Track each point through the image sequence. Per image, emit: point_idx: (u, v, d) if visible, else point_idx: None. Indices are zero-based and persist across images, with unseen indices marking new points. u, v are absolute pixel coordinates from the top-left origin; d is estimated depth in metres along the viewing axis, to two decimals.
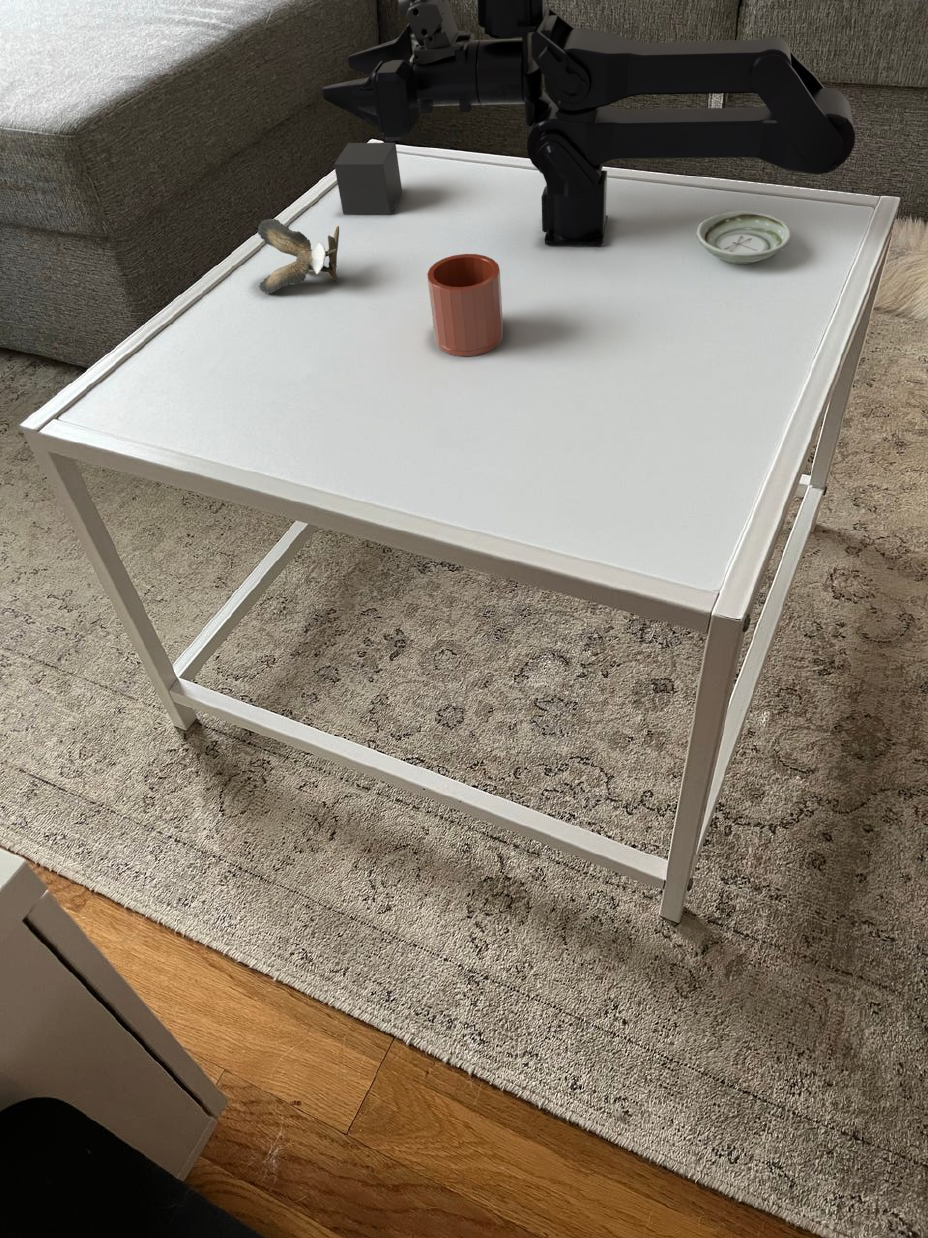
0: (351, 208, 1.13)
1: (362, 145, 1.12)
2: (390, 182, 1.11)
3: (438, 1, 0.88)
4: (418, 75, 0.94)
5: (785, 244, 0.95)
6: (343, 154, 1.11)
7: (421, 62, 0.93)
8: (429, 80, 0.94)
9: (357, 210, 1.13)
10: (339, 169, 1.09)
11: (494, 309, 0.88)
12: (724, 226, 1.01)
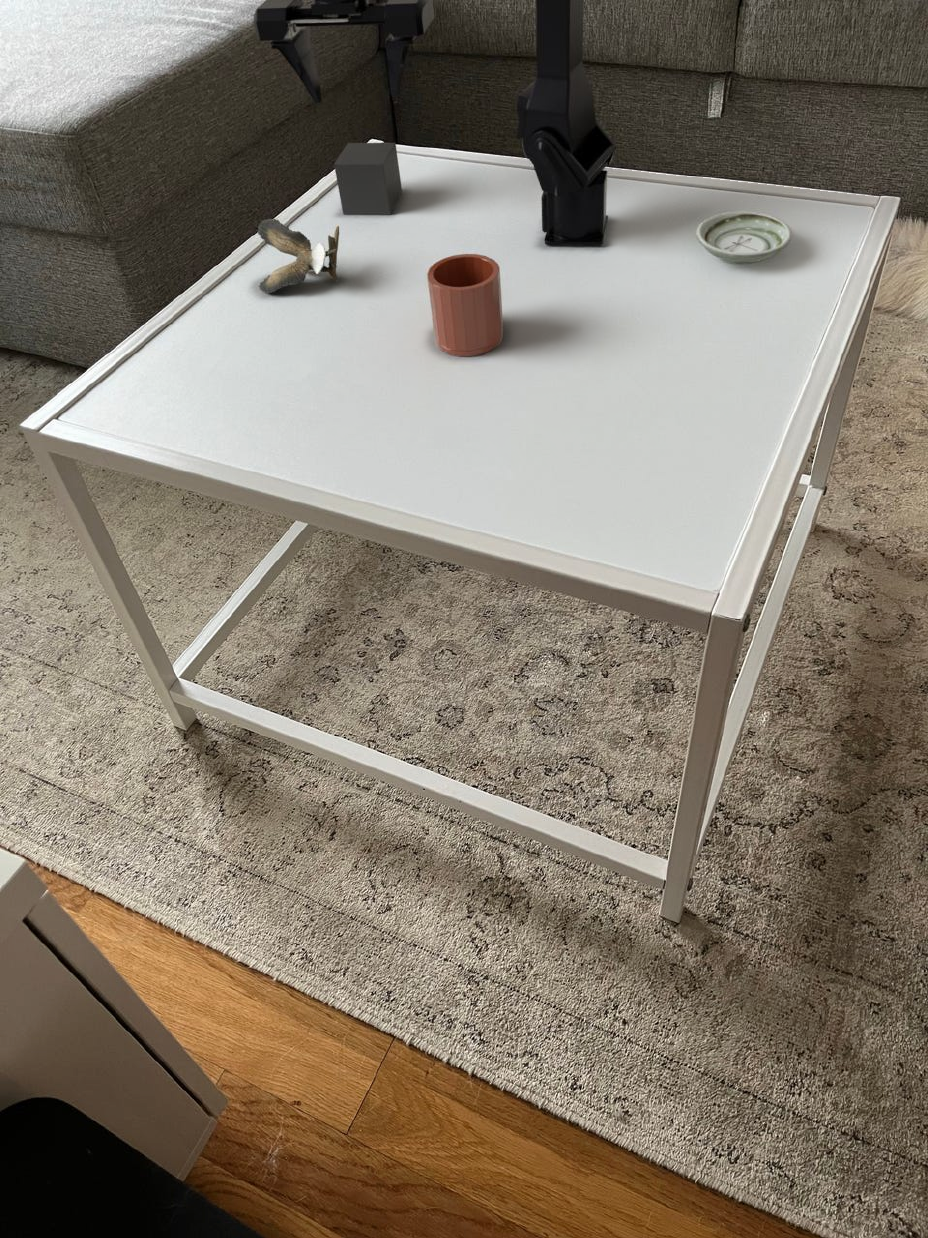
0: (351, 208, 1.13)
1: (362, 145, 1.12)
2: (390, 182, 1.11)
3: None
4: None
5: (785, 244, 0.95)
6: (343, 154, 1.11)
7: None
8: None
9: (357, 210, 1.13)
10: (339, 169, 1.09)
11: (494, 309, 0.88)
12: (724, 226, 1.01)
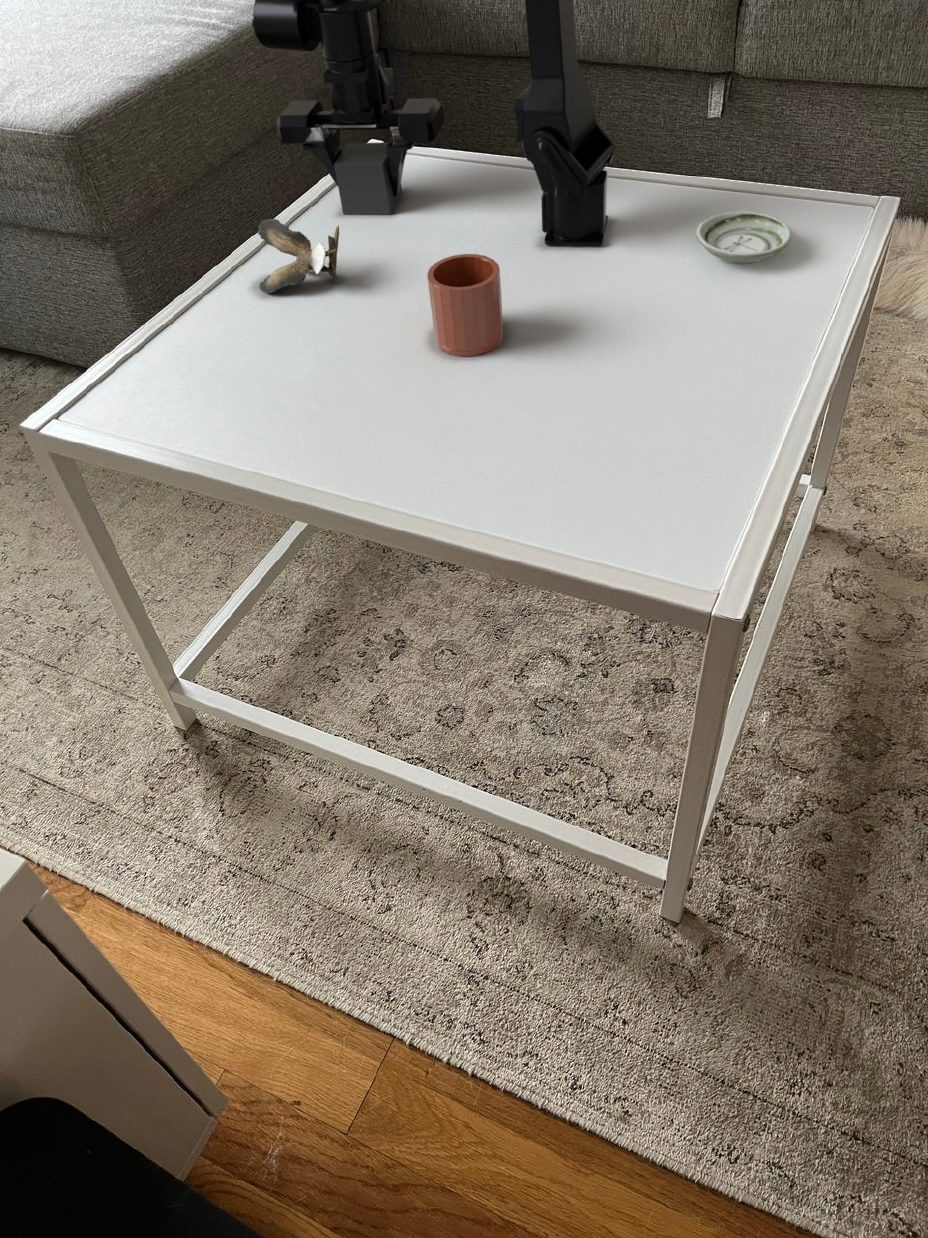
0: (351, 208, 1.13)
1: (362, 145, 1.12)
2: (390, 182, 1.11)
3: None
4: None
5: (785, 244, 0.95)
6: (343, 154, 1.11)
7: None
8: None
9: (357, 210, 1.13)
10: (338, 169, 1.09)
11: (494, 309, 0.88)
12: (724, 226, 1.01)
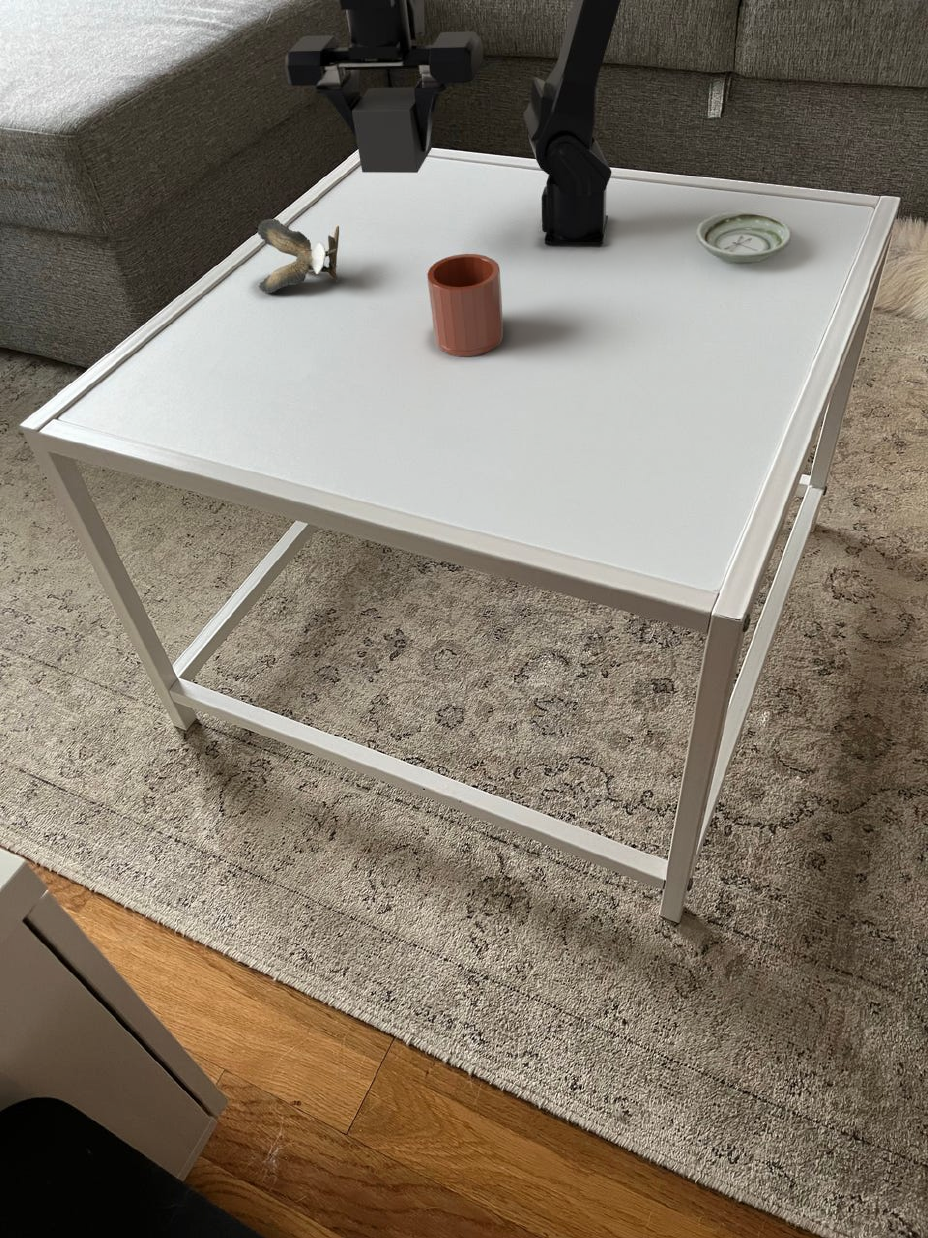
0: (371, 165, 0.96)
1: (386, 90, 0.95)
2: (418, 134, 0.94)
3: None
4: None
5: (785, 244, 0.95)
6: (363, 100, 0.93)
7: None
8: None
9: (378, 167, 0.96)
10: (357, 117, 0.92)
11: (494, 309, 0.88)
12: (724, 226, 1.01)
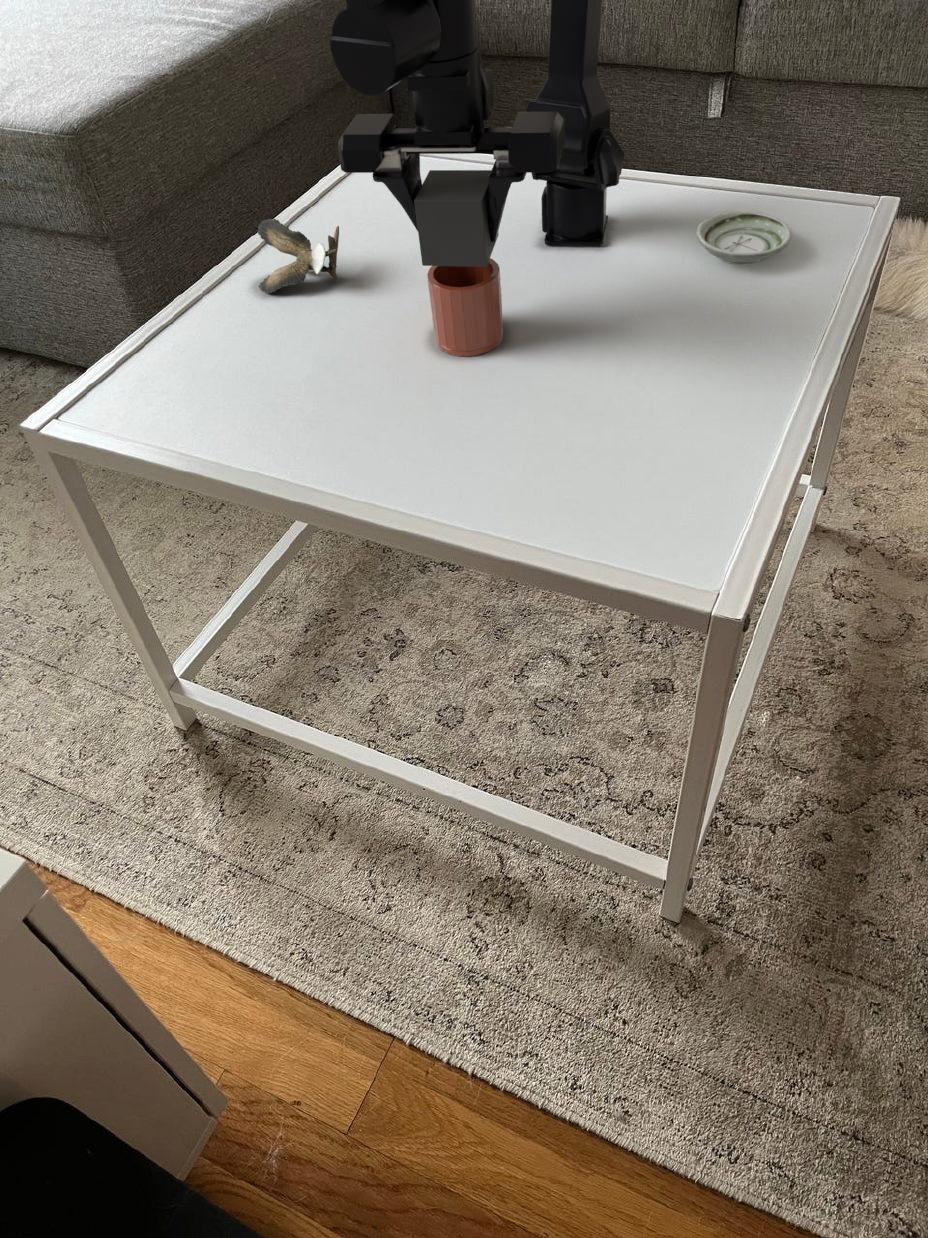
0: (434, 258, 0.84)
1: (450, 173, 0.83)
2: (488, 224, 0.82)
3: None
4: None
5: (785, 244, 0.95)
6: (425, 186, 0.82)
7: None
8: None
9: (442, 261, 0.84)
10: (420, 207, 0.81)
11: (494, 309, 0.88)
12: (724, 226, 1.01)
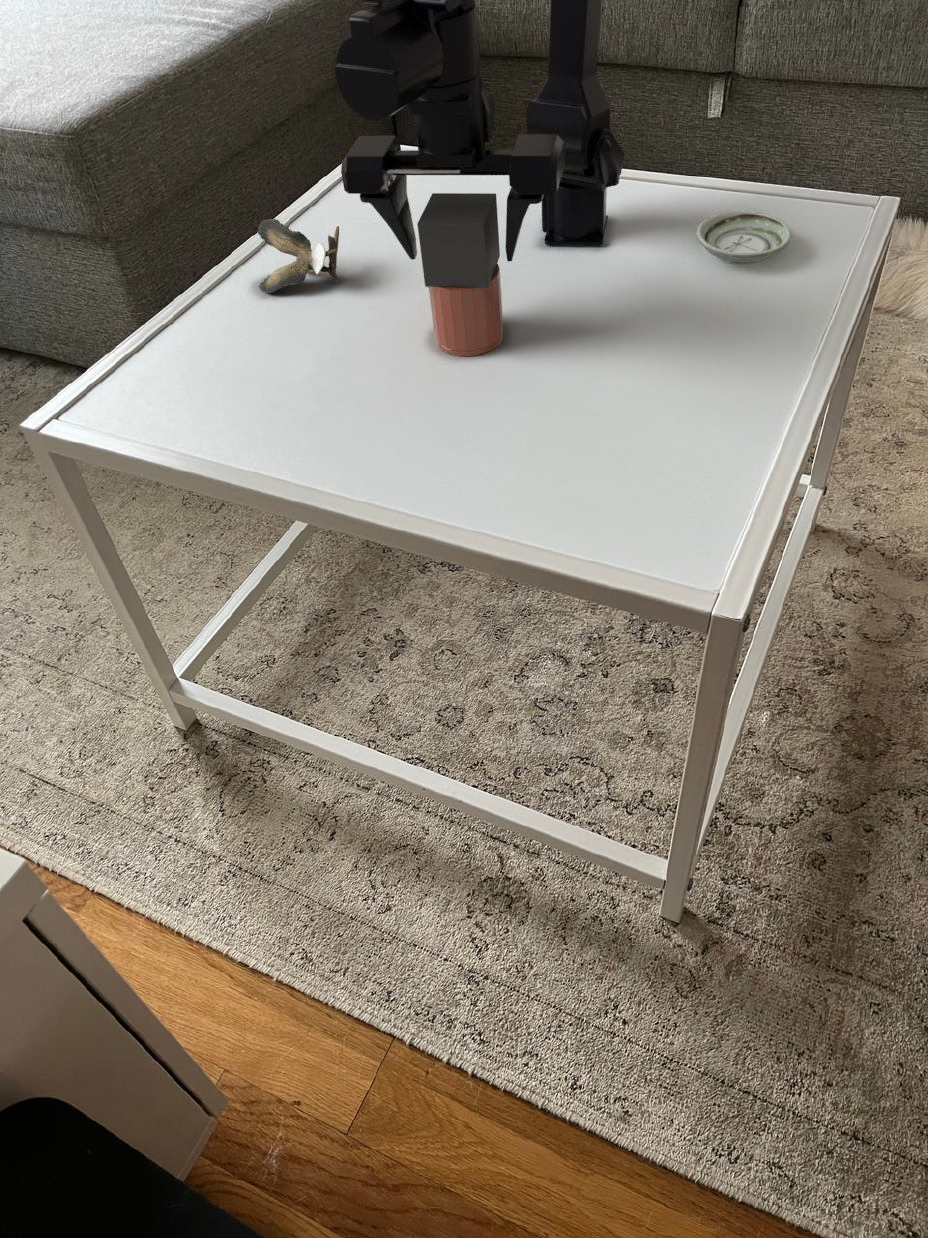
0: (436, 279, 0.85)
1: (452, 196, 0.85)
2: (489, 247, 0.84)
3: None
4: None
5: (785, 244, 0.95)
6: (428, 209, 0.83)
7: None
8: None
9: (444, 282, 0.85)
10: (423, 230, 0.82)
11: (494, 309, 0.88)
12: (724, 226, 1.01)
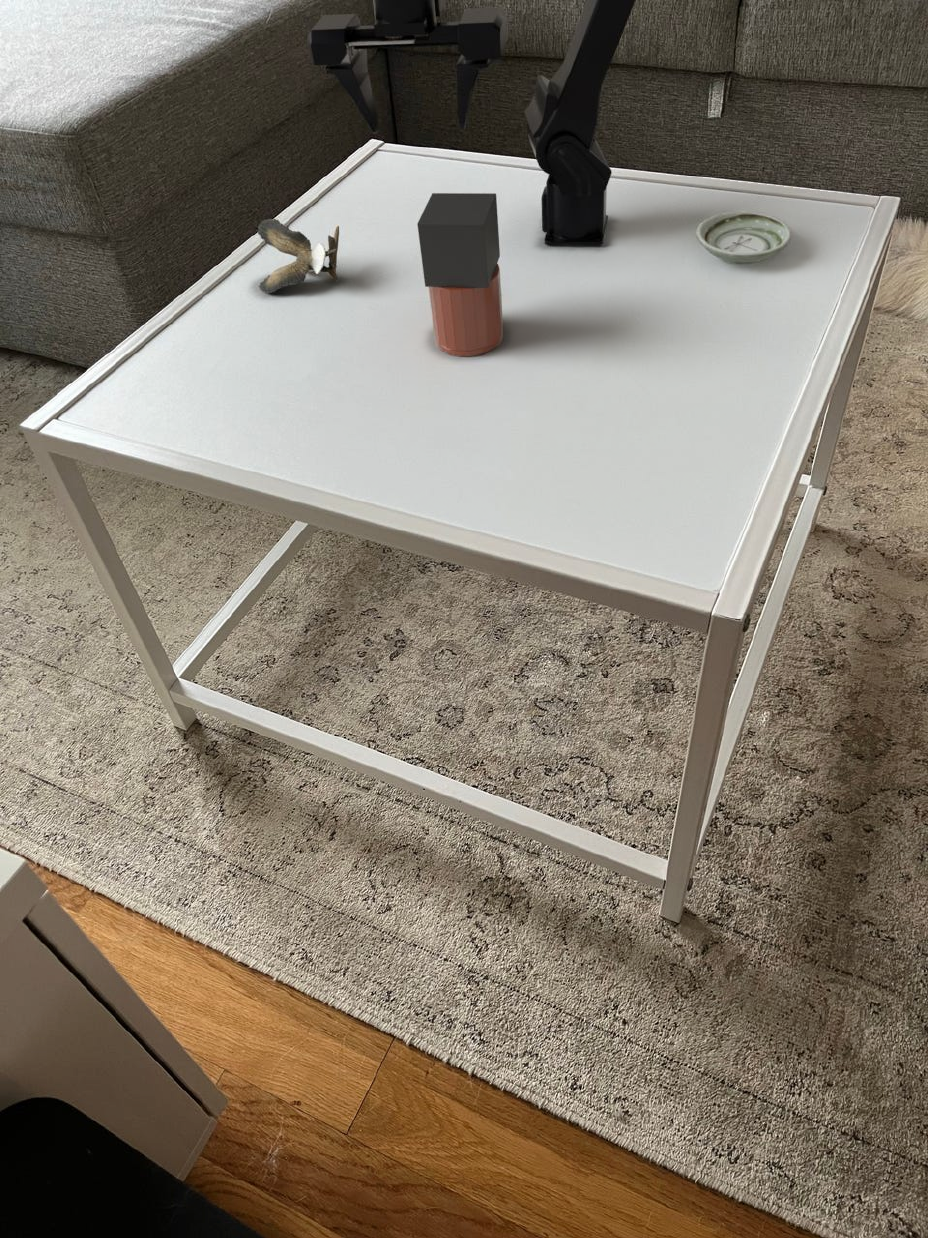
0: (436, 279, 0.85)
1: (452, 196, 0.85)
2: (489, 247, 0.84)
3: None
4: None
5: (785, 244, 0.95)
6: (428, 209, 0.83)
7: None
8: None
9: (444, 282, 0.85)
10: (423, 230, 0.82)
11: (494, 309, 0.88)
12: (724, 226, 1.01)
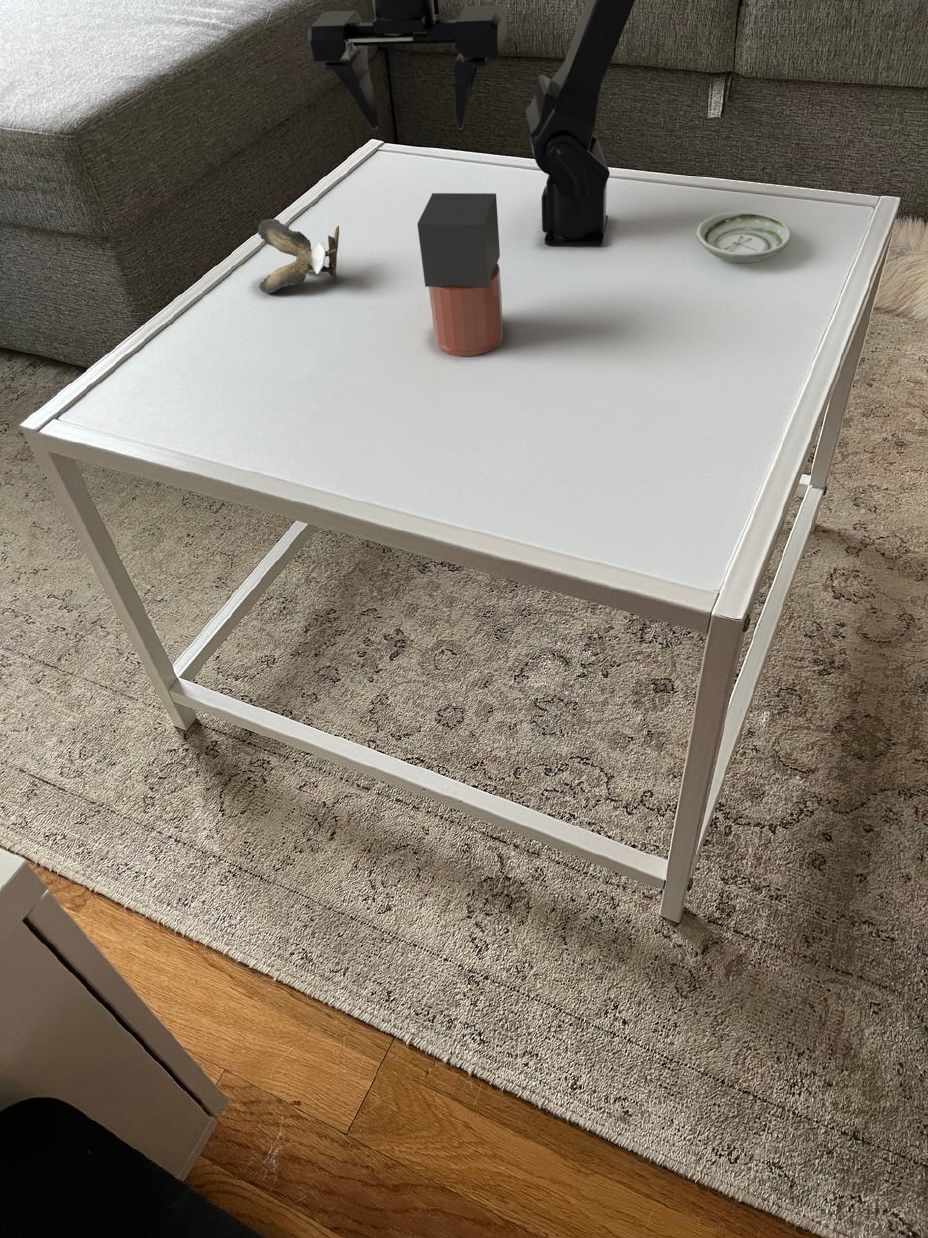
0: (436, 279, 0.85)
1: (452, 196, 0.85)
2: (489, 247, 0.84)
3: None
4: None
5: (785, 244, 0.95)
6: (428, 209, 0.83)
7: None
8: None
9: (444, 282, 0.85)
10: (423, 230, 0.82)
11: (494, 309, 0.88)
12: (724, 226, 1.01)
